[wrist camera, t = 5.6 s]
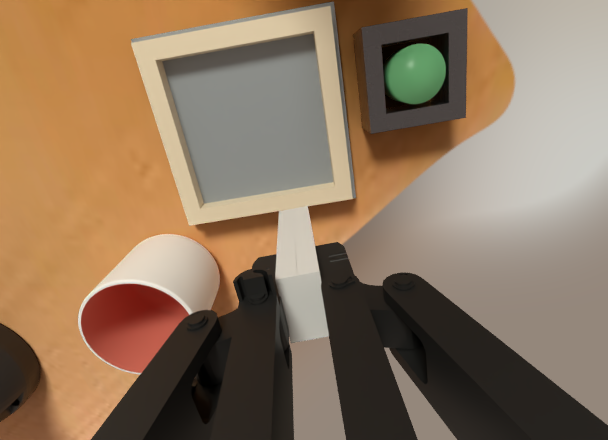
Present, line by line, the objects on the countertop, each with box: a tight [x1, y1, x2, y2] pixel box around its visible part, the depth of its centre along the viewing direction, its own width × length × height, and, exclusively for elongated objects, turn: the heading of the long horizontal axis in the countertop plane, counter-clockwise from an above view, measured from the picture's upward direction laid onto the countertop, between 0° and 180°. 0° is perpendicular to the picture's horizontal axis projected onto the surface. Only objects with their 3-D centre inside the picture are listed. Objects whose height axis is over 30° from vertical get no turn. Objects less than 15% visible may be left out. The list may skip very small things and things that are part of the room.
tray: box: [131, 1, 356, 226], centre depth 31 cm, size 17×17×3 cm
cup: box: [78, 234, 220, 374], centre depth 33 cm, size 10×10×10 cm
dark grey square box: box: [353, 8, 467, 134], centre depth 29 cm, size 8×8×4 cm
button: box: [383, 43, 446, 104], centre depth 28 cm, size 4×4×3 cm
